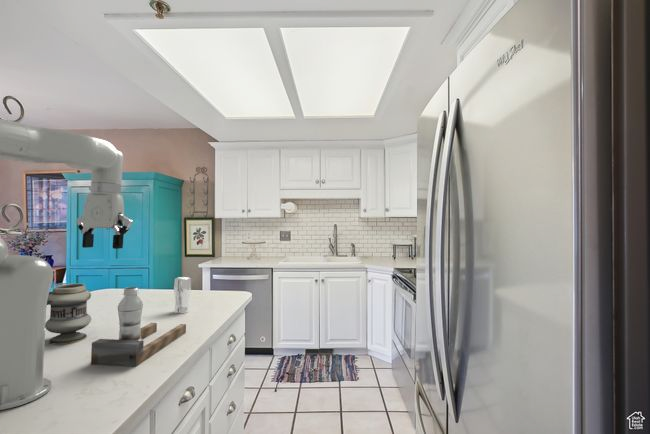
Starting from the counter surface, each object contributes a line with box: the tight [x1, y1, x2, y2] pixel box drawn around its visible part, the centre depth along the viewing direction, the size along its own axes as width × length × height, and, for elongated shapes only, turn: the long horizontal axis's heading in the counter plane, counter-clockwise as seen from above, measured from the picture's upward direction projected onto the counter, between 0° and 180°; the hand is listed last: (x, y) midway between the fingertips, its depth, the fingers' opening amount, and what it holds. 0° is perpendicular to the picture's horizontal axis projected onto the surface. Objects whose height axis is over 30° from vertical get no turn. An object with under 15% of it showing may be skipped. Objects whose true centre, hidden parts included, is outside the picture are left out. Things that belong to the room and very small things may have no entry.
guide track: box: [90, 322, 187, 367], centre depth 102 cm, size 28×13×6 cm, turn 177°
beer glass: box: [173, 276, 192, 315], centre depth 143 cm, size 7×7×15 cm
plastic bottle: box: [117, 286, 144, 341], centre depth 95 cm, size 6×7×20 cm
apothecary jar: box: [45, 282, 92, 346], centre depth 107 cm, size 12×12×18 cm
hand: (102, 247), depth 94 cm, fingers open, 9 cm apart
